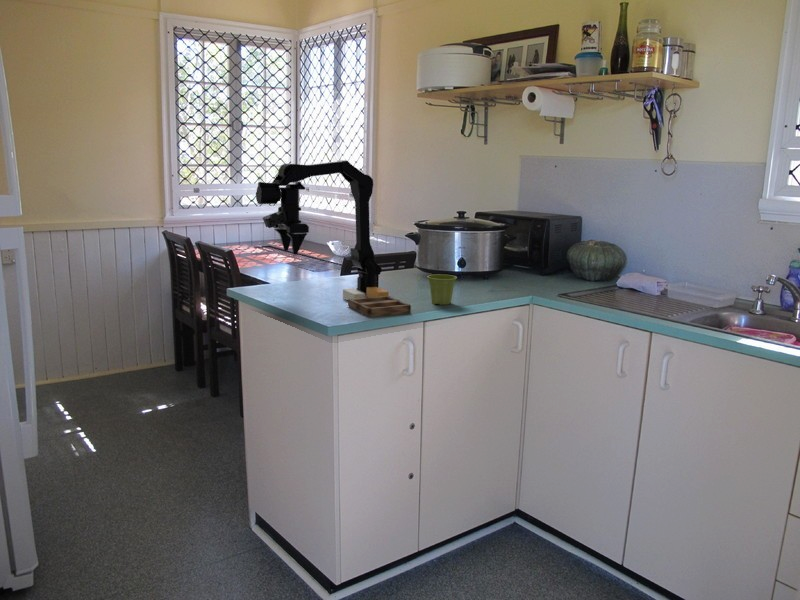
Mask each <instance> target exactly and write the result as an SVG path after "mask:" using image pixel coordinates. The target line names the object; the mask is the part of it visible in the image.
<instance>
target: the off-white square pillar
mask: <svg viewBox="0 0 800 600" xmlns="http://www.w3.org/2000/svg"><path fill="white" fill-rule="evenodd" d="M365 293H366V292H362V291H359V290H357V289H355V288H353V287H352V288H343V289H342V300H344V299H346V300H348V299H358V298H366V294H365ZM346 300H345V301H346Z"/></svg>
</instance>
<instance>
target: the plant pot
mask: <svg viewBox="0 0 800 600" xmlns="http://www.w3.org/2000/svg"><path fill="white" fill-rule="evenodd" d="M426 278H427V279H428V282H429V288H430V300H431V303H432V304H434V305H440V306H441V305H442V306H445V305H450V304H451V303H452V298H453V292H454V286H455V283H456V280H457V279H458V277H457V276H456V275H451V274H438V273H437V274H430V275H427V277H426Z"/></svg>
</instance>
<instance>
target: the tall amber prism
mask: <svg viewBox="0 0 800 600" xmlns="http://www.w3.org/2000/svg"><path fill="white" fill-rule="evenodd" d="M389 294H390V293H389V291H387V290H386V289H383V288H380V287H379V286H378V287H367V292H366V294H365V298H367V297H368V298H370V297H382V296H390V295H389Z"/></svg>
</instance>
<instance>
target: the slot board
mask: <svg viewBox="0 0 800 600" xmlns="http://www.w3.org/2000/svg"><path fill="white" fill-rule="evenodd" d="M348 306H349V307H350V308H349V307H348ZM347 307H348V308H349V309H351V308H352V309H351V310H353V309H354V311H355V310H356V312H357V311H358V313H359V312H360V313H359V314H361V313H362V315H363V314H364V315H363V316H366V317H367V318H372V317H382V316H393V315H404V314H411V313H412V311H411V310H412V309H411V307H412V305H411V304H409V303H407V302H404V301H402V300H400V299H397V298H395V297H392V296H390V295H389V296H382V297H370V298H367V297H365V298H358V299H348V301H347Z"/></svg>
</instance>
